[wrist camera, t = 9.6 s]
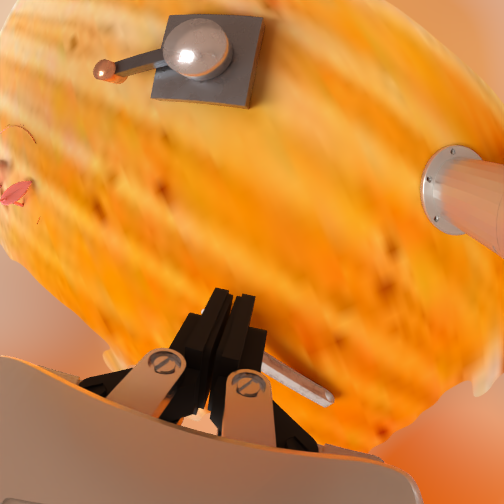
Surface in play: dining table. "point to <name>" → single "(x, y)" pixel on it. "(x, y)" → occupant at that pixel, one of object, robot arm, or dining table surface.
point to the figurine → (15, 190)
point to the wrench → (295, 380)
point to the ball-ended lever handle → (178, 54)
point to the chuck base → (230, 80)
